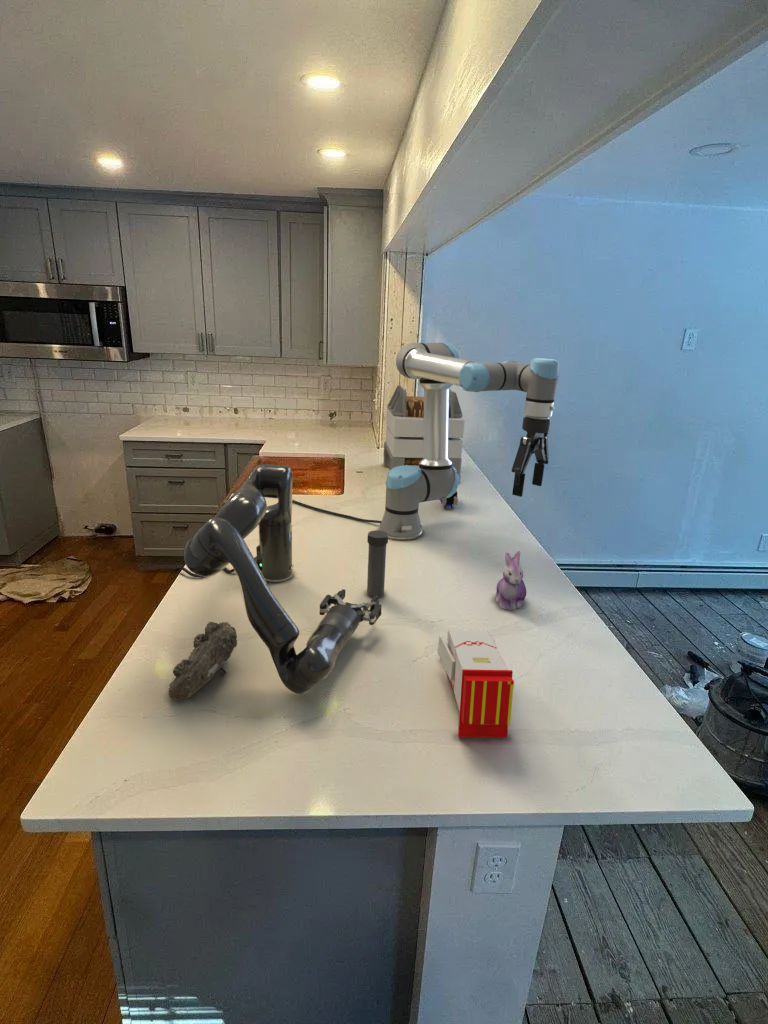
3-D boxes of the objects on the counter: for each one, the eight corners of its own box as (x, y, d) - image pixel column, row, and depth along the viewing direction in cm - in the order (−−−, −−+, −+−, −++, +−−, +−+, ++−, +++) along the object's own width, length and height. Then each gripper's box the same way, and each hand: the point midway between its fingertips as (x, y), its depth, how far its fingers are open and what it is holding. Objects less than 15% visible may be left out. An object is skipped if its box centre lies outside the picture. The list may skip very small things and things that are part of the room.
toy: (488, 613, 130) (523, 677, 101) (484, 667, 133) (517, 744, 104) (435, 612, 130) (455, 676, 101) (432, 666, 133) (451, 743, 103)
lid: (368, 546, 149) (368, 537, 149) (366, 538, 154) (367, 530, 154) (388, 546, 150) (389, 538, 149) (386, 538, 155) (387, 530, 154)
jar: (367, 597, 155) (369, 539, 149) (366, 589, 159) (368, 532, 153) (384, 597, 155) (387, 539, 150) (383, 589, 160) (385, 532, 154)
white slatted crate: (382, 463, 289) (386, 382, 275) (445, 464, 293) (451, 384, 279) (390, 482, 257) (394, 392, 243) (460, 483, 261) (468, 394, 247)
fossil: (191, 624, 130) (237, 594, 125) (220, 652, 133) (266, 624, 128) (146, 693, 111) (199, 661, 106) (181, 724, 114) (234, 694, 109)
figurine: (508, 614, 149) (515, 562, 144) (485, 597, 158) (490, 547, 153) (536, 607, 153) (543, 557, 148) (511, 591, 162) (518, 542, 157)
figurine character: (457, 514, 225) (453, 498, 239) (459, 497, 222) (455, 481, 236) (441, 513, 225) (437, 497, 239) (442, 496, 222) (439, 481, 235)
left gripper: (307, 636, 131) (333, 603, 145) (366, 648, 127) (386, 613, 142) (307, 607, 128) (333, 577, 143) (367, 619, 125) (388, 587, 139)
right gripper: (532, 424, 144) (521, 503, 152) (567, 413, 163) (556, 483, 171) (505, 420, 149) (495, 496, 156) (542, 409, 167) (532, 478, 175)
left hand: (360, 595), depth 142 cm, fingers open, 8 cm apart
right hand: (527, 490), depth 163 cm, fingers open, 13 cm apart
